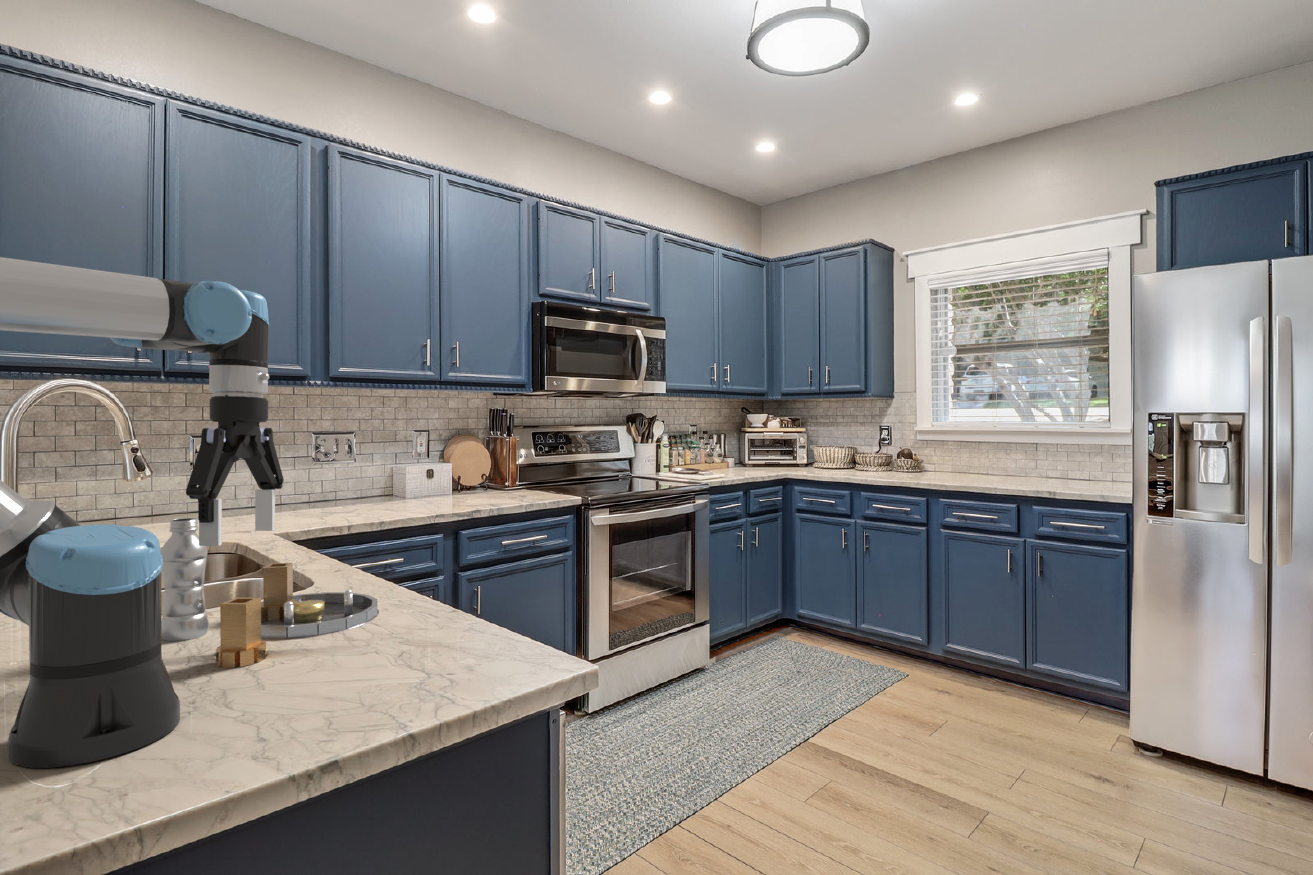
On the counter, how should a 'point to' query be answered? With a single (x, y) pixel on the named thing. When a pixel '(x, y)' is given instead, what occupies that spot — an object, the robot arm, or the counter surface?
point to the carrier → (321, 615)
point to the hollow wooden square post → (240, 633)
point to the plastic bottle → (184, 583)
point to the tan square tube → (276, 590)
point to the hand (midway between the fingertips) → (239, 537)
